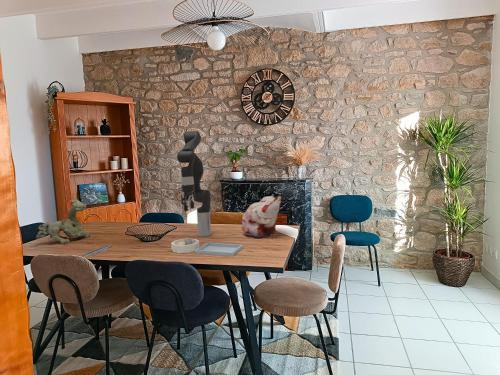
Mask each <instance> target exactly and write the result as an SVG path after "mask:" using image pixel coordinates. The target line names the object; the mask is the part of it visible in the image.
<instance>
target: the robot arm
mask: <svg viewBox="0 0 500 375" xmlns="http://www.w3.org/2000/svg"><path fill="white" fill-rule="evenodd" d="M201 140H202V138H201V133H200V132H199V130H192V131H185V132H184V133H183V142H184V146H183V148H181V149H180V150H179V151H178V152H177V155H176V159H177V161H178V163H180V164H186V163H187V164H188V165H186V166H182V167H181V169H180V174H181V179H180V180H181V192H182V193H183V194H181V196H180V197H181V205H183V211H184V212H188V211H189V205H190V209H194V208H195V202H197V203H201V204H202V205H201V206H199V207H197V208H196V218H197V219H196V221H197V222H196V223H197V236H198V237H202V238H204V237H209V236H212V232H211V229H212V228H211V199H212V198H211V197H212V196H211V193H210V191H209V190H208V189H201V180H202V178H203V175H204V172H205V169H204V164H203V161H202V160H201V158H200V157H199V156H198V155H197V154H196V153H195V150H196V148H197V147H198V146H199V145H200V144H201ZM189 202H190V204H189V205H188V203H189Z"/></svg>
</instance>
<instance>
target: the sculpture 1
mask: <svg viewBox="0 0 500 375" xmlns="http://www.w3.org/2000/svg"><path fill="white" fill-rule="evenodd" d="M70 203H71V207H70V208H69V209H68V212H67V218H66V219H65V218H64V219H62V220H57V221H53V222H44V223H42V224H40V225H39V226H38V230H39V231H38V232H37V234H36V236H35V238H36V239H40V238H45V237H46V236H47V235H49V237H48V241H49V242H55V241H58V242H59V243H60V244H61V245H62V244H69V243H70V242H71V240H70V239H80V238H81V239H82V238H84V239H85V238H89V237H91V234H90V233H87V232H86V231H84V225H83V223H82V221H81V220H79V219H78V217H77V212H83V211H85V209H86V208H87V205H86V204H85V203H83V202H81V201H80V200H78V198H74V199H71V200H70ZM61 231H62V232H63V233H64V234H65V235H66V236H63V235H60V232H61ZM69 238H70V239H69Z"/></svg>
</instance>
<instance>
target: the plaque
mask: <svg viewBox="0 0 500 375" xmlns="http://www.w3.org/2000/svg"><path fill="white" fill-rule="evenodd" d="M114 247H115V246H114V245H104V246H103V247H99V248H97V249H94V250H92V251H90V252H87V253H85V254H82V255H81V256H82V257H85V259H86V258H89V257H93V256H94V255H96V254H99V253H101V252H102V253H103V252H105V251H107V250H109V249H112V248H114Z"/></svg>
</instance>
